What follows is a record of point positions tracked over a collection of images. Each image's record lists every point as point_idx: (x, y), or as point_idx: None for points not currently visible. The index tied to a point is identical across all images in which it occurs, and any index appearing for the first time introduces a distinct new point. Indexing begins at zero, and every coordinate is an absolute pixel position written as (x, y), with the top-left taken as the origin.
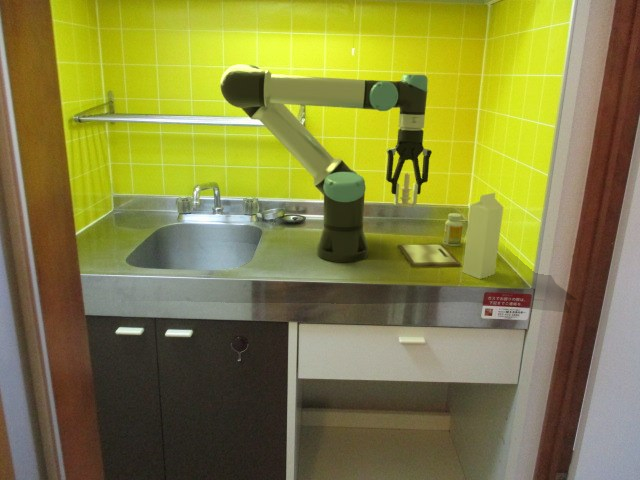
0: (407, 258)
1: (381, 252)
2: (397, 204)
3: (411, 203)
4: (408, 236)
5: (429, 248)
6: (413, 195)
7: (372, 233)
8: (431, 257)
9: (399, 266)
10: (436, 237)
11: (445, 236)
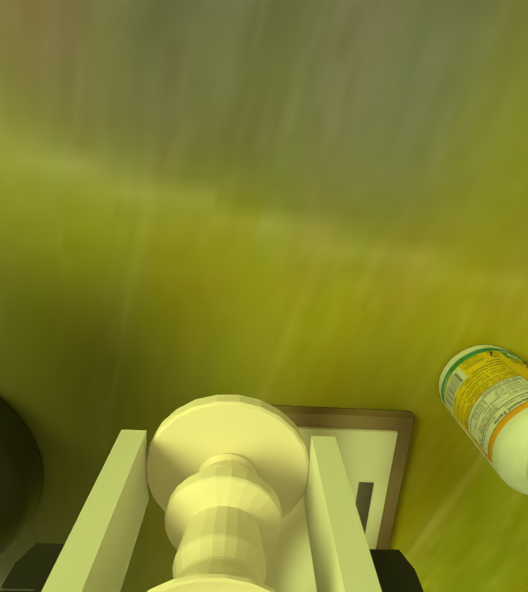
0: None
1: (107, 457)
2: (144, 504)
3: (293, 479)
4: (303, 246)
5: None
6: (322, 543)
7: (98, 167)
8: (290, 561)
9: (154, 583)
10: (453, 278)
11: (455, 413)
